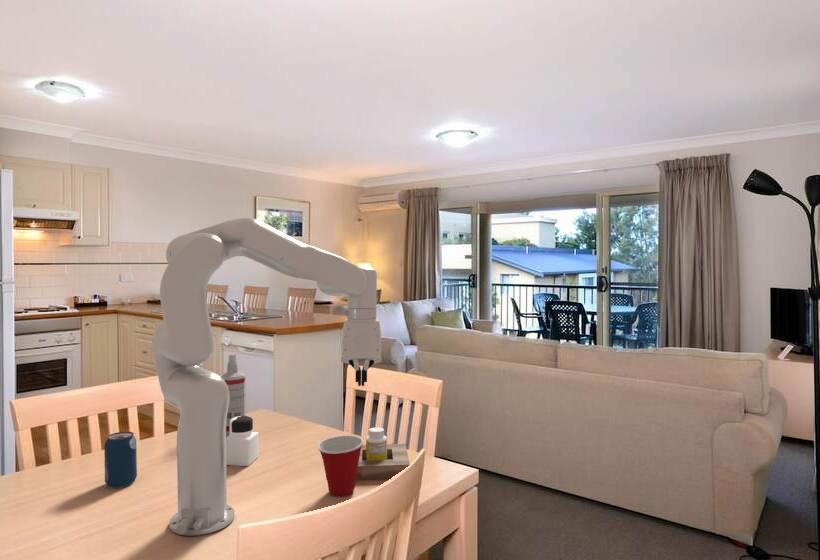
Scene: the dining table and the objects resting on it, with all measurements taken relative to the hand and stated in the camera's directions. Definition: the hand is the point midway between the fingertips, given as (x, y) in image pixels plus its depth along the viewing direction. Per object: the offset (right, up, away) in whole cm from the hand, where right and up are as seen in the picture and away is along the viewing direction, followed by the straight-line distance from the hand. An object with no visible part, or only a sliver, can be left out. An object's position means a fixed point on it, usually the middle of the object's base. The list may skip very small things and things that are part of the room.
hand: (361, 384), depth 139 cm
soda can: (-58, -23, -8) cm, 63 cm away
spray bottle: (-45, -22, +34) cm, 60 cm away
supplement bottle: (+4, -23, +2) cm, 23 cm away
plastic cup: (-4, -23, -13) cm, 27 cm away
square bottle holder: (+4, -22, +2) cm, 23 cm away
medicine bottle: (-33, -22, +7) cm, 41 cm away
